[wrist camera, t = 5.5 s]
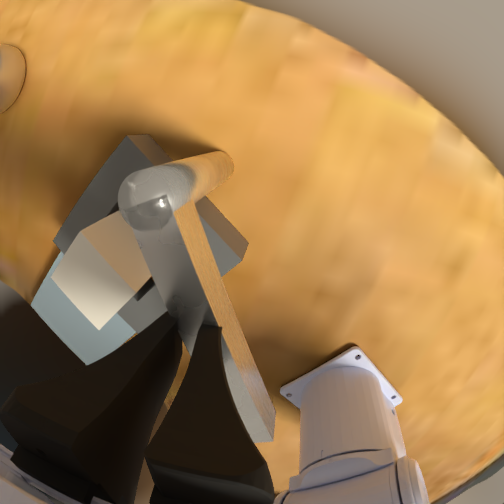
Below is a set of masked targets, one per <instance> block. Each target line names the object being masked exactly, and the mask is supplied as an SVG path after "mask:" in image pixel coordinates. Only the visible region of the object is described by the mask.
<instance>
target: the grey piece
mask: <svg viewBox="0 0 504 504" xmlns="http://www.w3.org/2000/svg"><path fill="white" fill-rule="evenodd" d="M233 171H234V163H233V160H232V158H231V157H230V156H229V155H228V154H226V153H225V152H222V151H215V152H210V153H206V154H201V155H197V156H193V157H189V158H184V159H180V160H176V161H172V162H168V163H165V164H161V165H157V166H153V167H150V168H146V169H143V170H139V171H136V172H133V173H131V174H130V175H129V176H127V177H126V178H125V180H124V181H123V182H122V184H121V186H120V189H119V192H118V206H119V210H120V213H121V215H122V217H123V218H124V220H125V221H126V222H127V223H128V224H129V225H130V226H131V227H132V230H133V232H134V235H135V237H136V240H137V242H138V245H139V247H140V249H141V252H142V254H143V257H144V259H145V261H146V264H147V266H148V268H149V271H150V273H151V275H152V277H153V280H154V282H155V284H156V286H157V289H158V291H159V293H160V295H161V297H162V299H163V302H164V304H165V306H166V308H167V310H168V312H169V314H170V316H171V317H174V318H178V332H179V334H180V336H181V338H182V340H183V342H184V344H185V346H186V348H187V350H188V352H189V354H190V356H191V355H192V352H193V348H194V344H195V340H196V337H197V333H198V330H199V327H200V326H201V324H202V323H203V324H208V325H213V326H218V327H219V326H221V327H222V334H221V346H222V355H223V362H224V368H225V372H226V377H227V381H228V384H229V388H230V391H231V394H232V397H233V400H234V402H235V405H236V408H237V410H238V412H239V415H240V417H241V419H242V421H243V423H244V425H245V427H246V430H247V431H248V433H249V435H250V437H251V439H252V440H253V442H254V443H259V442H271V441H273V437H274V426H275V415H276V411H275V409H274V406H273V404H272V402H271V399H270V397H269V395H268V392H267V390H266V388H265V385H264V383H263V380H262V378H261V376H260V373H259V371H258V368H257V366H256V364H255V361H254V359H253V356H252V354H251V351H250V349H249V346H248V344H247V342H246V339H245V337H244V334H243V332H242V329H241V327H240V324H239V321H238V319H237V316H236V314H235V311H234V309H233V306H232V304H231V301H230V298H229V296H228V293H227V291H226V288H225V285H224V283H223V280H222V278H221V275H220V272H219V270H218V267H217V264H216V262H215V259H214V256H213V254H212V251H211V248H210V245H209V243H208V240H207V237H206V235H205V232H204V229H203V226H202V224H201V221H200V218H199V215H198V212H197V210H196V207H195V203H196V202H197V201H199V200H200V199H202V198H203V197H204V196H206V195H207V194H208V193H210V192H211V191H212V190H214V189H215V188H217V187H218V186H219V185H221V184H222V183H224V182H225V181H226V180H228V179H229V178H230V177H231V175H232V174H233Z"/></svg>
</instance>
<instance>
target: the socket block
mask: <svg viewBox="0 0 504 504" xmlns="http://www.w3.org/2000/svg"><path fill="white" fill-rule="evenodd" d="M172 161H173V160H172V159H171V158H170V157H169V156H168V155H167V154H166V153H165V152H164V150H163V149H162V148H161V147H160V146H159V145H158V144H157V143H156V142H155V141H154V140H153V139H152V138H151V136H150V135H149V134H145V135H127V136H126V137H125V138H124V139H123V141H122V142H121V143H120V144H119V146H118V147H117V148H116V149H115V151H114V152H113V153H112V154H111V156H110V157H109V158H108V160H107V161H106V162H105V164H104V165H103V166H102V168H101V169H100V170H99V172H98V173H97V174H96V176H95V177H94V178H93V180H92V181H91V183H90V184H89V186H88V187H87V188H86V190H85V191H84V193H83V194H82V196H81V197H80V199H79V200H78V202H77V203H76V205H75V206H74V208H73V209H72V211H71V212H70V214H69V215H68V217H67V219H66V220H65V222H64V223H63V225H62V227H61V228H60V230H59V232H58V233H57V235H56V237H55V238H54V240H53V242H54V243H55V244H56V245H57V247H58V248H59V249H60V250H61V252H62V253H63V254H64V255H65V253H66V252H67V250H68V248H69V247H70V245H71V244H72V242H73V241H74V239H75V238H76V236H77V235H78V233H79V232H80V231H81V230H83V229H85V228H86V227H88V226H90V225H92V224H94V223H96V222H98V221H99V220H101V219H103V218H105V217H107V216H109V215H111V214H113V213H115V212H117V211H119V206H118V192H119V189H120V186H121V184H122V182H123V181H124V180H125V178H126V177H127V176H129V175H130V174H131V173H133V172H136V171H139V170H143V169H146V168H150V167H153V166H157V165H161V164H165V163H168V162H172ZM195 207H196V210H197V212H198V215H199V218H200V221H201V224H202V226H203V229H204V232H205V235H206V237H207V240H208V243H209V245H210V248H211V251H212V254H213V256H214V259H215V262H216V264H217V267H218V270H219V272H220V275H221V277H222V276H223V275H225V274H226V273H227V272H228V271H230V270H231V269H232V268H233V267H235V266H236V265H237V264H238V263H240V262H241V261H242V259H243V257H244V254H245V251H246V249H247V246H248V244H249V243H248V242H247V240H246V239H245V238H244V237H243V236H242V235H241V234H240V233H239V232H238V231H237V230H236V228H235V227H234V226H233V225H232V224H231V223H230V222H229V221H228V220H227V219H226V218H225V217H224V215H223V214H222V213H221V212H220V211H219V210H218V209H217V208H216V207H215V206H214V205H213V204H212V202H211V201H210V200H209V199H208V198H207V197H206V196H204V197H203V198H202V199H200V200H199V201H197V202H196V203H195ZM166 311H168V310H167V308H166V306H165V304H164V302H163V299H162V297H161V295H160V293H159V291H158V289H157V286H156V284H155V282H154V281H153V280H152V279H151V278H149V279H148V280H147V282H146V283H145V284H144V285H143V286H142V287H141V288H140V289H139V290H138V292H137V293H136V294H135V295H134V296H133V297H132V298H131V299H130V300H129V301H128V302H127V303H126V304H125V305H124V306H123V307H122V308H121V309H120V310H119V311H118V312H117V314H118V315H119V316H120V317H121V318H122V319H123V320H124V321H125V322H126V323H127V324H129V325H130V326H131V327H132V328H133V329H134V330H135V331H136V332H137V333H138V334H139V333H140V332H141V331H142V330H144V329H145V328H146V327H148V326H149V325H150V324H151V323H153V322H154V321H155V320H156V319H157V318H159V317H160V316H161V315H162V314H164V313H165V312H166Z"/></svg>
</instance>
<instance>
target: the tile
mask: <svg viewBox="0 0 504 504" xmlns="http://www.w3.org/2000/svg"><path fill="white" fill-rule="evenodd" d="M63 256H64V254H63V253H62V252H60V253H59V255H58V257H57V258H56V260H55V262H54V263H53V265H52V267H51V268H50V270H49V272H48V274H47V275H46V277H45V279H44V281H43V283H42V284H41V286H40V288H39V290H38V292H37V294H36V295H35V297H34V299H33V301H32V303H31V306H32V307H33V308H34V309H35V311H36V312H37V313H38V314H39V316H40V317H41V318H42V319H43V320H44V321H45V322H46V324H47V325H48V326H49V327H50V328H51V329H52V330H53V331H54V332H55V333H56V334H57V335H58V337H59V338H60V339H61V340H62V341H63V342H64V343H65V344H66V345H67V346H68V347H69V348H70V349H71V350H72V351H73V352H74V353H75V354H76V355H77V356H78V357H79V358H80V359H81V360H82V361H83V362H84V363H85V364H86V365H89V364H91V363H93V362H95V361H97V360H99V359H101V358H103V357H105V356H106V355H108V354H110V353H111V352H113V351H114V350H116V349H117V348H118V347H120V346H121V345H122V344H123V343H124V342H125V341H127V340H128V339H129V338H130V337H131V336H132V335H134V334H135V333H136V331H135V330H134V329H133V328H132V327H131V326H130V325H129V324H127V323H126V322H125V321H124V320H123V319H122V318H121V317H120V316H119V315H118V314H117V313H116V314H115V315H114V316H113V317H112V318H111V319H110V320H109V321H108V322H107V323H106V324H105V325H104V326H103V327H102V328H101V329H100V330H98V329H97V328H96V327H95V326H94V325H93V324H92V323H91V322H90V321H89V320H88V319H87V318H86V317H85V316H84V314H83V313H82V312H81V311H80V310H79V309H78V308H77V307H76V306H75V305H74V304H73V303H72V301H71V300H70V299H69V298H68V297H67V296H66V295H65V294H64V292H63V291H62V290H61V289H60V288H59V287H58V286H57V284H56V283H55V282H54V281H53V280H52V278H51V276H52V274H53V273H54V271H55V269H56V268H57V266H58V264H59V263H60V261H61V260H62V258H63Z"/></svg>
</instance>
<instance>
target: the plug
mask: <svg viewBox="0 0 504 504" xmlns="http://www.w3.org/2000/svg"><path fill="white" fill-rule="evenodd" d="M151 276H152V275H151V273H150V271H149V268H148V266H147V264H146V261H145V259H144V257H143V254H142V252H141V249H140V247H139V245H138V242H137V240H136V237H135V235H134V232H133V230H132V227H131V226H130V225H129V224H128V223H127V222H126V221H125V220H124V218H123V217H122V215H121V213H120V210H119V211H117V212H115V213H113V214H111V215H109V216H107V217H105V218H103V219H101V220H99V221H98V222H96V223H94V224H92V225H90V226H88V227H86V228H85V229H83V230H81V231H80V232H79V233H78V235H77V236H76V238H75V239H74V241H73V242H72V244H71V245H70V247H69V248H68V250H67V252H66V253H65V255H64V256H63V258H62V260H61V261H60V263H59V264H58V266H57V268H56V269H55V271H54V273H53V274H52V276H51V278H52V280H53V281H54V282H55V283H56V284H57V286H58V287H59V288H60V289H61V290H62V291H63V292H64V294H65V295H66V296H67V297H68V298H69V299H70V300H71V301H72V303H73V304H74V305H75V306H76V307H77V308H78V309H79V310H80V311H81V312H82V313H83V314H84V316H85V317H86V318H87V319H88V320H89V321H90V322H91V323H92V324H93V325H94V326H95V327H96V328H97V329H98V330H100V329H101V328H102V327H103V326H104V325H105V324H106V323H107V322H108V321H109V320H110V319H111V318H112V317H113V316H114V315H115V314H116V313H117V312H118V311H119V310H120V309H121V308H122V307H123V306H124V305H125V304H126V303H127V302H128V301H129V300H130V299H131V298H132V297H133V296H134V295H135V294H136V293H137V292H138V290H139V289H140V288H141V287H142V286H143V285H144V284H145V283H146V282H147V280H148V279H149V278H150V277H151Z"/></svg>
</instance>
